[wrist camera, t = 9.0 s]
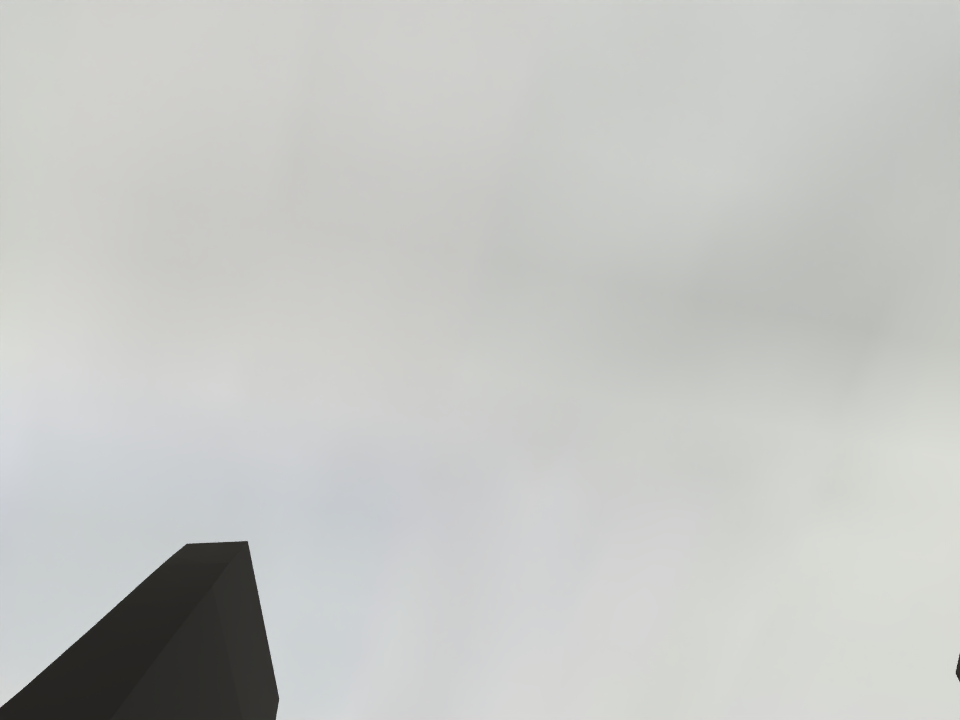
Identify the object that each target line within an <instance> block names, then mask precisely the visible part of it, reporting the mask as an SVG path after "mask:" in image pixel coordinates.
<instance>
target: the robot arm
mask: <svg viewBox="0 0 960 720" xmlns="http://www.w3.org/2000/svg"><path fill="white" fill-rule="evenodd" d="M956 675H957V677H958V679H959V681H960V655H959V660H958V664H957V669H956ZM278 703H279V695H278V690H277V685H276V680H275V675H274V670H273V665H272V660H271V655H270V650H269V645H268V640H267V635H266V630H265V625H264V620H263V615H262V610H261V605H260V600H259V595H258V590H257V585H256V580H255V575H254V570H253V565H252V560H251V555H250V550H249V545H248V541H241V542H218V543H196V544H186V545H185V546H184V547H182V548H181V549H180V550H179V551H177V552H176V553H175V554H174V555H173V556H171V557H170V558H169V559H168V560H167V561H166V562H164V563H163V564H162V565H161V566H160V567H159V568H158V569H157V570H155V571H154V572H153V573H152V574H151V575H150V576H149V577H148V578H146V579H145V580H144V581H143V582H142V583H141V584H140V585H139V586H138V587H136V588H135V589H134V590H133V591H132V592H131V593H130V594H129V595H128V596H127V597H125V598H124V599H123V600H122V601H121V602H120V603H119V604H118V605H117V606H116V607H114V608H113V609H112V610H111V611H110V612H109V613H108V614H107V615H106V616H104V617H103V618H102V619H101V620H100V621H99V622H98V623H97V624H96V625H95V626H93V627H92V628H91V629H90V630H89V631H88V632H87V633H85V634H84V635H83V636H82V637H81V638H80V639H79V640H78V641H76V642H75V643H74V644H73V645H72V646H71V647H70V648H69V649H67V650H66V651H65V652H64V653H63V654H62V655H61V656H59V657H58V658H57V659H56V660H55V661H54V662H53V663H52V664H50V665H49V666H48V667H47V668H46V669H45V670H44V671H43V672H41V673H40V674H39V675H38V676H37V677H36V678H35V679H33V680H32V681H31V682H30V683H29V684H28V685H27V686H26V687H24V688H23V689H22V690H21V691H20V692H19V693H17V694H16V695H15V696H14V697H13V698H11V699H10V700H9V701H8V702H7V703H5V704H4V705H3V706H2V707H1V708H0V720H276V714H277V709H278Z"/></svg>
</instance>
